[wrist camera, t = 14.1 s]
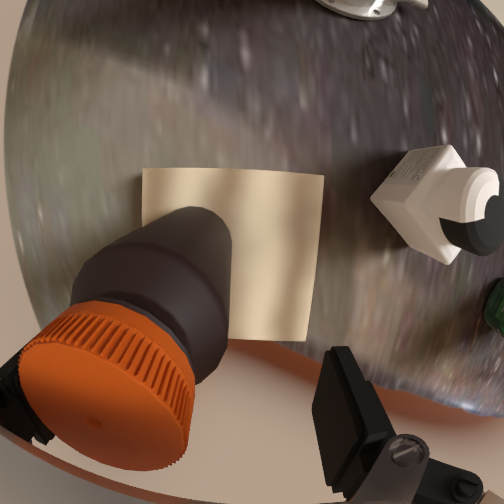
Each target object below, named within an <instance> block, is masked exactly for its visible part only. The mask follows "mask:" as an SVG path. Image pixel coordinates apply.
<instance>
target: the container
mask: <svg viewBox="0 0 504 504" xmlns="http://www.w3.org/2000/svg"><path fill="white" fill-rule="evenodd" d="M370 200H371V202H372V203H373V204H374V205H375V206H376V207H377V208H378V209H379V211H380V212H381V213H382V214H383V215H384V216H385V217H386V219H387V220H388V221H389V222H390V223H391V225H392V226H393V227H394V228H395V229H396V231H397V232H398V233H399V234H400V235H401V237H402V238H403V239H404V240H405V242H406V243H407V244H408V245H409V247H411V248H413V249H415V250H417V251H419V252H422V253H424V254H426V255H428V256H430V257H432V258H434V259H436V260H438V261H440V262H442V263H444V264H446V265H449V264H450V263H451V262H452V261H453V259H454V258H455V257H456V255H457V254H458V253H459V251H460V250H461V249H463V250H466V251H468V252H471V253H473V254H476V255H478V256H487V255H490V254H491V253H493V252H494V251H495V250H497V249H498V248H499V247H500V246H501V244H502V243H503V241H504V181H503V180H502V178H501V177H500V176H499V175H498V174H497V173H496V172H495V171H494V170H492V169H489V168H466V166H465V165H464V163H463V161H462V160H461V158H460V157H459V155H458V154H457V152H456V151H455V149H454V148H453V147H452V146H451V145H442V146H435V147H428V148H421V149H415V150H410V151H408V153H407V154H406V155H405V156H404V158H403V159H402V160H401V161H400V162H399V164H398V165H397V166H396V167H395V168H394V170H393V171H392V172H391V173H390V174H389V176H388V177H387V178H386V179H385V180H384V182H383V183H382V184H381V185H380V186H379V187H378V189H377V190H376V191H375V192H374V193H373V194H372V196H371V197H370Z"/></svg>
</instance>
